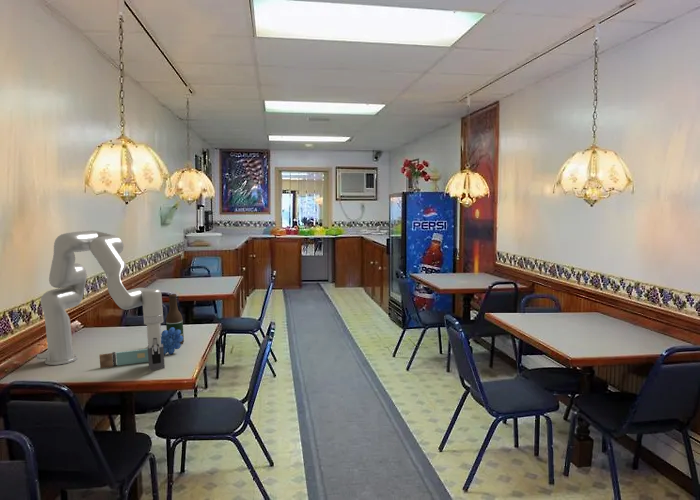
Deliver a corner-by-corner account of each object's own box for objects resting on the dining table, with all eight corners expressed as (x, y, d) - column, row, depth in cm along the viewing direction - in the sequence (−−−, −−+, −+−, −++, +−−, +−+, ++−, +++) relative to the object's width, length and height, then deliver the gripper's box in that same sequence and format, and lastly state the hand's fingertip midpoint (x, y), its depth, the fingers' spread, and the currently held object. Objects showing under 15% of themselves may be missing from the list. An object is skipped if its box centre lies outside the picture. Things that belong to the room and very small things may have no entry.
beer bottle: (179, 346, 254) (175, 295, 252) (164, 345, 256) (160, 295, 253) (187, 341, 262) (184, 292, 259) (172, 341, 263) (169, 292, 261)
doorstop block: (149, 370, 220) (147, 348, 219) (149, 366, 225) (147, 345, 224) (164, 368, 222) (163, 346, 221) (164, 364, 227) (162, 343, 226)
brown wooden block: (100, 368, 225) (99, 354, 224) (100, 367, 226) (99, 353, 225) (164, 360, 233) (163, 346, 233) (163, 359, 234) (163, 346, 234)
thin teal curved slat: (117, 365, 227) (116, 353, 226) (117, 364, 228) (116, 352, 227) (149, 361, 231) (148, 349, 231) (149, 360, 232) (148, 348, 232)
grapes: (182, 349, 248) (181, 324, 247) (185, 353, 242) (183, 327, 241) (155, 353, 243) (154, 327, 242) (157, 357, 237) (155, 330, 236)
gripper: (143, 316, 228) (147, 355, 230) (143, 324, 212) (146, 367, 214) (162, 314, 231) (165, 353, 232) (163, 322, 215) (166, 364, 216)
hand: (156, 360), depth 223 cm, fingers open, 9 cm apart
